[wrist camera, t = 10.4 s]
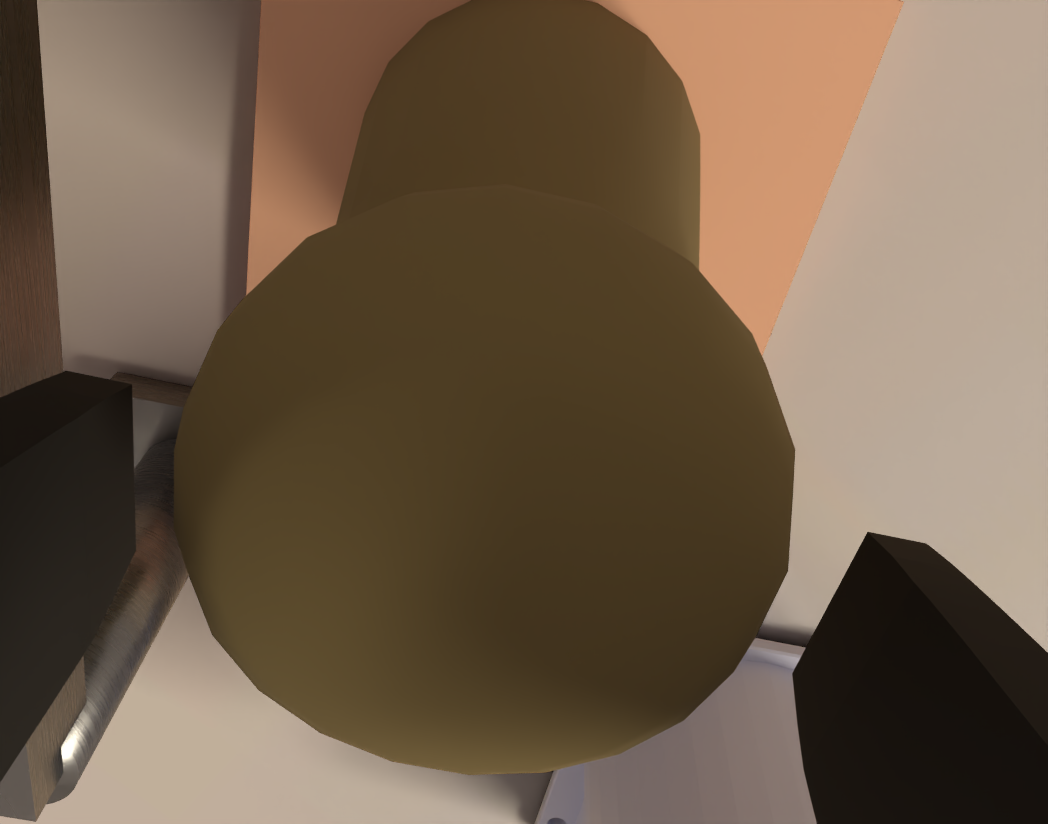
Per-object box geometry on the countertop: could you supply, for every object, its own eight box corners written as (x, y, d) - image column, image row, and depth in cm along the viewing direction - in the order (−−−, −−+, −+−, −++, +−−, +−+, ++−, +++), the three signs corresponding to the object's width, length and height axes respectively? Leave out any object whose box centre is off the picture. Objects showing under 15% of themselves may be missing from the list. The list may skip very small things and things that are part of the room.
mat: (701, 481, 20) (705, 498, 19) (249, 390, 19) (240, 405, 18) (892, -4, 15) (903, 1, 14) (279, -153, 14) (269, -154, 13)
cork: (288, 122, 15) (-153, 521, 6) (589, -95, 14) (629, -8, 4) (484, 382, 18) (389, 947, 9) (761, 230, 16) (1030, 740, 7)
